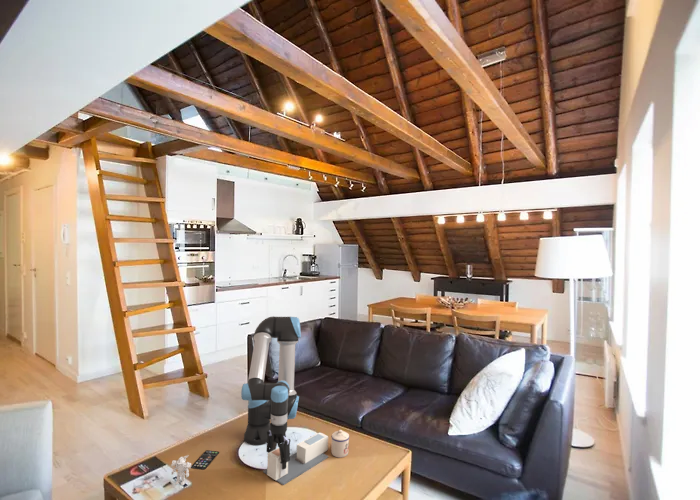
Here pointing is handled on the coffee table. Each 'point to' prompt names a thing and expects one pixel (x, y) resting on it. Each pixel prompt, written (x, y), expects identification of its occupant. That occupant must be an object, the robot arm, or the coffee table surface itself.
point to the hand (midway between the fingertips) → (277, 471)
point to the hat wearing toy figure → (181, 469)
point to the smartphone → (205, 460)
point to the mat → (298, 467)
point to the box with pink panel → (275, 464)
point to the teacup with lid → (340, 444)
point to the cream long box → (312, 447)
